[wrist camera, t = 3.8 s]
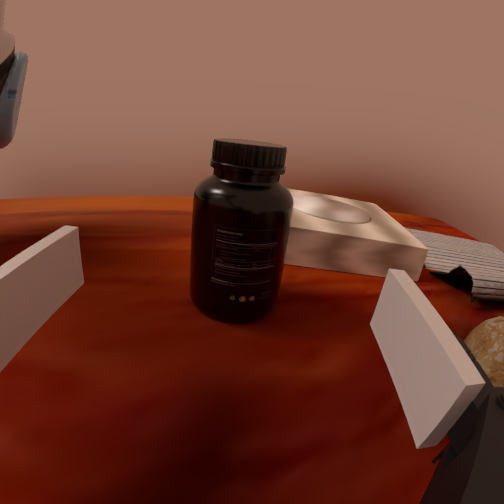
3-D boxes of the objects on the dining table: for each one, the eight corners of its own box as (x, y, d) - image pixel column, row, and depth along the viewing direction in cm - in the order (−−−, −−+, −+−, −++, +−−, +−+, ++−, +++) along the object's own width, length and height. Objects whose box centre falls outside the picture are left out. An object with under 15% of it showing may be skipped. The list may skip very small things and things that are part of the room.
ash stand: (241, 258, 31) (246, 217, 30) (253, 208, 50) (256, 182, 48) (417, 281, 31) (429, 246, 29) (369, 226, 49) (375, 202, 48)
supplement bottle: (188, 277, 26) (197, 134, 21) (264, 279, 28) (285, 143, 23) (190, 326, 20) (200, 140, 15) (286, 325, 22) (319, 153, 17)
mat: (484, 255, 47) (491, 233, 46) (556, 318, 26) (569, 290, 24) (390, 236, 48) (397, 210, 46) (460, 315, 26) (477, 275, 24)
